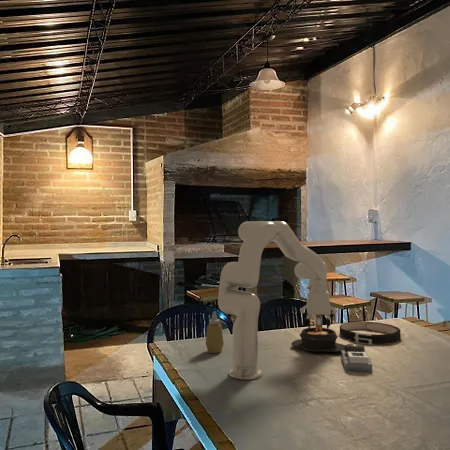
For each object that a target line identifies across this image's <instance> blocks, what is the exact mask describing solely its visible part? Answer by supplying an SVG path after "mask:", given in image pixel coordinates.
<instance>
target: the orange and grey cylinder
mask: <svg viewBox="0 0 450 450" xmlns="http://www.w3.org/2000/svg"><path fill="white" fill-rule="evenodd" d="M315 327H316V331H317V332H322V328H323V315H315Z"/></svg>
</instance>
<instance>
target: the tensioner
mask: <svg viewBox="0 0 450 450" xmlns="http://www.w3.org/2000/svg"><path fill="white" fill-rule="evenodd" d="M344 345H345V350H341V351H340V354H341V355H340V356H341V358H340V359H341V361H342V364H343V367H344V371H345V372H359V373H361V372H362V373H373V363H372V361H371V359H370V358H369V355H368V353H367V351H366V349H365V346H364V345H363V344H360V343H346V344H344Z"/></svg>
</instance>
